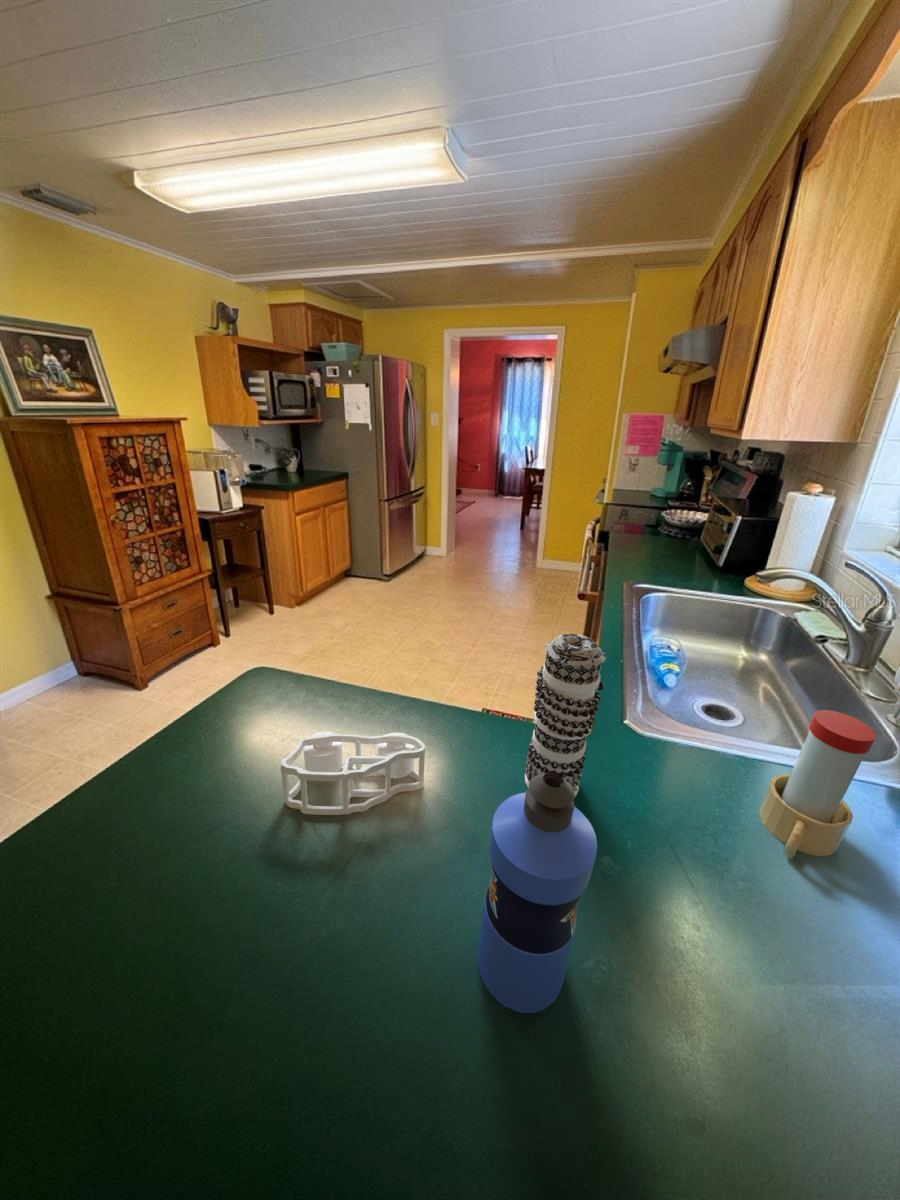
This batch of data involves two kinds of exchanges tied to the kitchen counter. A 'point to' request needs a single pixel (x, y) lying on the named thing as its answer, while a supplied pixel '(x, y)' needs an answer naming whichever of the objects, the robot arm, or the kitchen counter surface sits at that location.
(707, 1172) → the kitchen counter surface
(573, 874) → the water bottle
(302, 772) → the white open frame caddy
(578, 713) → the decorative candle
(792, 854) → the mug
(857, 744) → the jar
